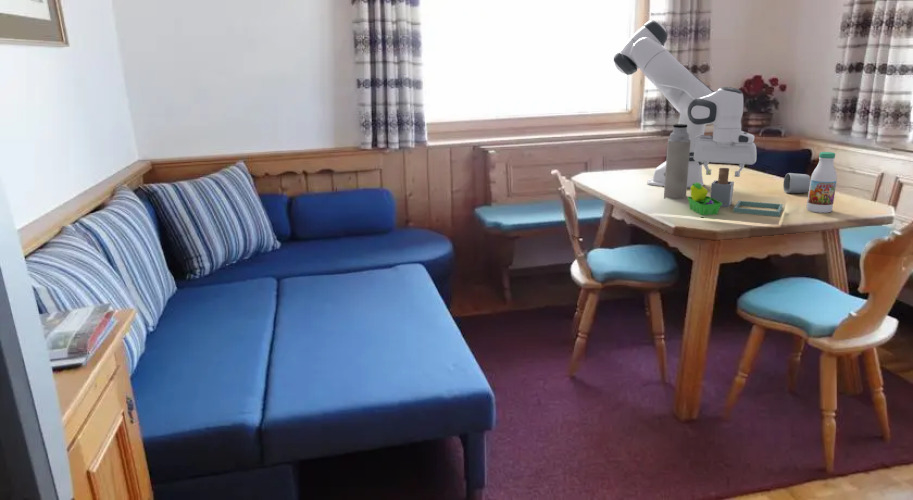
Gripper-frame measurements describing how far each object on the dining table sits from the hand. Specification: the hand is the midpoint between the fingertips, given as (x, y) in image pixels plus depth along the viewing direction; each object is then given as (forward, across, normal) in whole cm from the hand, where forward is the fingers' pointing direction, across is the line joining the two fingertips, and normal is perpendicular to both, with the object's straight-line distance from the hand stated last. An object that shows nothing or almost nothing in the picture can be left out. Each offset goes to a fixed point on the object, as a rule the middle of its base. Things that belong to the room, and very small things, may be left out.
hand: (722, 175), depth 221 cm
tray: (+12, +13, -3) cm, 18 cm away
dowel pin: (+10, 0, 0) cm, 11 cm away
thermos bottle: (+12, -17, +8) cm, 22 cm away
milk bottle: (+12, +31, +9) cm, 34 cm away
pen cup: (+12, 0, 0) cm, 12 cm away
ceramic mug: (+12, +21, +38) cm, 45 cm away
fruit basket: (+12, -4, -12) cm, 18 cm away
